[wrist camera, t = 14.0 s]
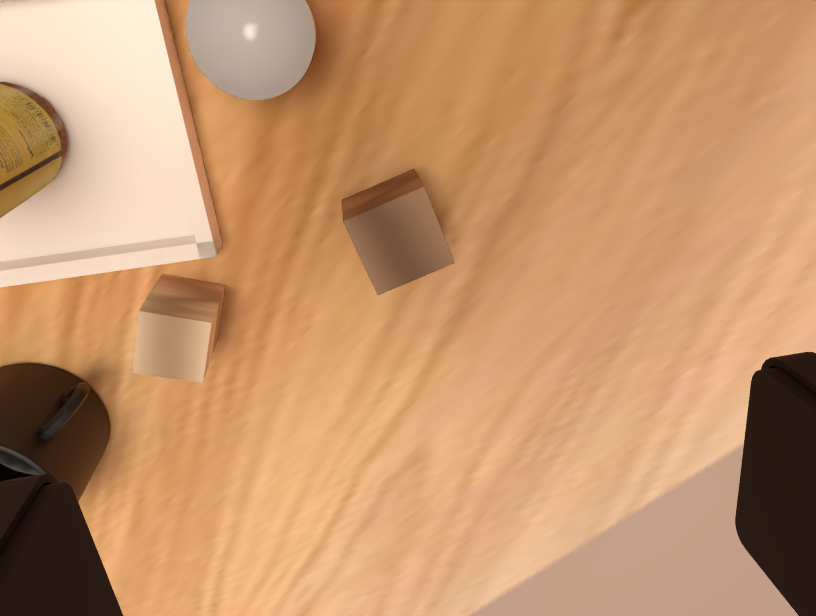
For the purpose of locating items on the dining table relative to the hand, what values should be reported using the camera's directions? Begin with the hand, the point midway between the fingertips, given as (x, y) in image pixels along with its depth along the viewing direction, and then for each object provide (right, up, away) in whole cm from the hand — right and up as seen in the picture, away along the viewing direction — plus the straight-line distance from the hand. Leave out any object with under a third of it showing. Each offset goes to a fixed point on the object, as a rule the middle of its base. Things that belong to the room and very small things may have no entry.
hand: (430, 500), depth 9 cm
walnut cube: (-1, +8, +34) cm, 35 cm away
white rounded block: (-9, +18, +29) cm, 35 cm away
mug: (-25, -4, +37) cm, 44 cm away
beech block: (-15, +3, +35) cm, 38 cm away
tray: (-23, +13, +29) cm, 39 cm away
